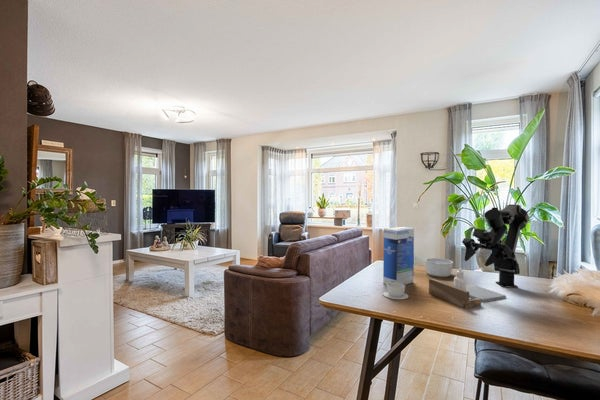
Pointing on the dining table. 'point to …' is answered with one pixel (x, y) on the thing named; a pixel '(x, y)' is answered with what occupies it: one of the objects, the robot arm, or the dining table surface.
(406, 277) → the string lights box
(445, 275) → the ramekin
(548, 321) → the dining table surface
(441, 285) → the walnut stand
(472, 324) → the dining table surface
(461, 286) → the eye dropper bottle
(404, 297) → the teacup
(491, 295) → the grey mat
